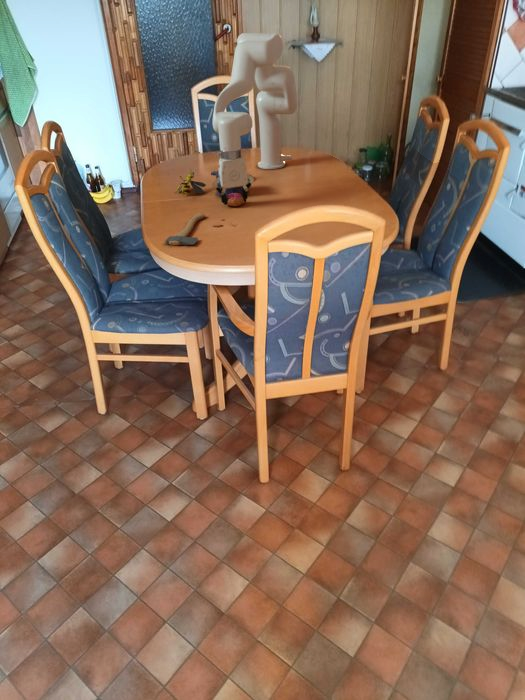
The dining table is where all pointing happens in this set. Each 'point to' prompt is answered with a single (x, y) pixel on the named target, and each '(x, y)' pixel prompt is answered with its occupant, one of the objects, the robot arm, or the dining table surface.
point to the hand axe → (185, 233)
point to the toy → (187, 188)
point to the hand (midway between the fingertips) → (234, 202)
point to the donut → (234, 199)
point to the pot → (228, 190)
